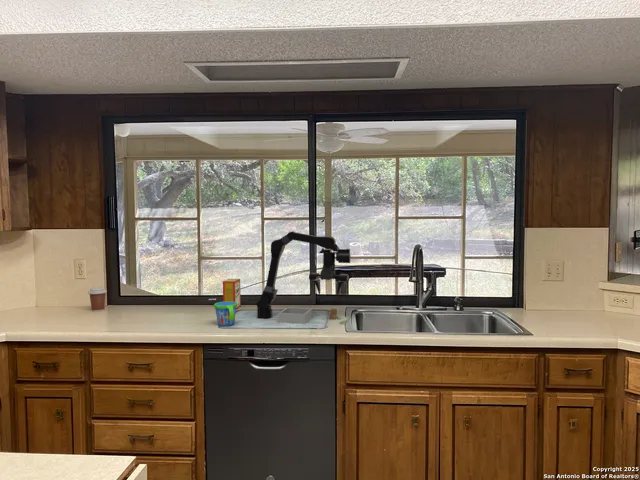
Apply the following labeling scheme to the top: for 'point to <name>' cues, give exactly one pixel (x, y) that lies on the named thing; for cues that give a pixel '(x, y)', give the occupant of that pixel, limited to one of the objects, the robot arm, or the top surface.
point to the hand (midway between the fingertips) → (328, 294)
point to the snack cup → (225, 312)
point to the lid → (334, 315)
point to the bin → (295, 315)
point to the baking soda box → (232, 291)
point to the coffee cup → (97, 298)
